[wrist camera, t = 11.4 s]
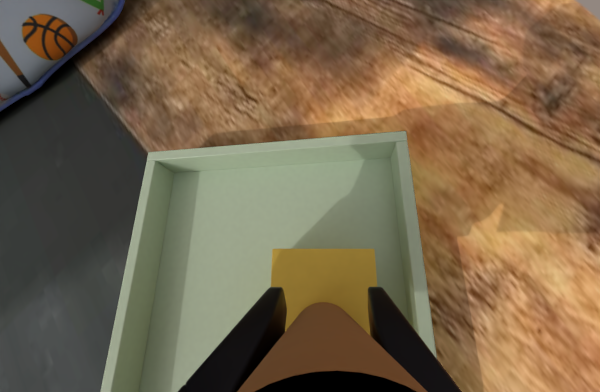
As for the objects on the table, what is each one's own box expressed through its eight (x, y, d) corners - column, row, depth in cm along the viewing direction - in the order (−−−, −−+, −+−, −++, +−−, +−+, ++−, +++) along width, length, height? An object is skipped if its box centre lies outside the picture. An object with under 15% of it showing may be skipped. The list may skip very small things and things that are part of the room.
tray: (449, 585, 11) (481, 679, 8) (116, 530, 13) (59, 589, 11) (397, 154, 17) (406, 130, 14) (175, 170, 19) (148, 152, 17)
